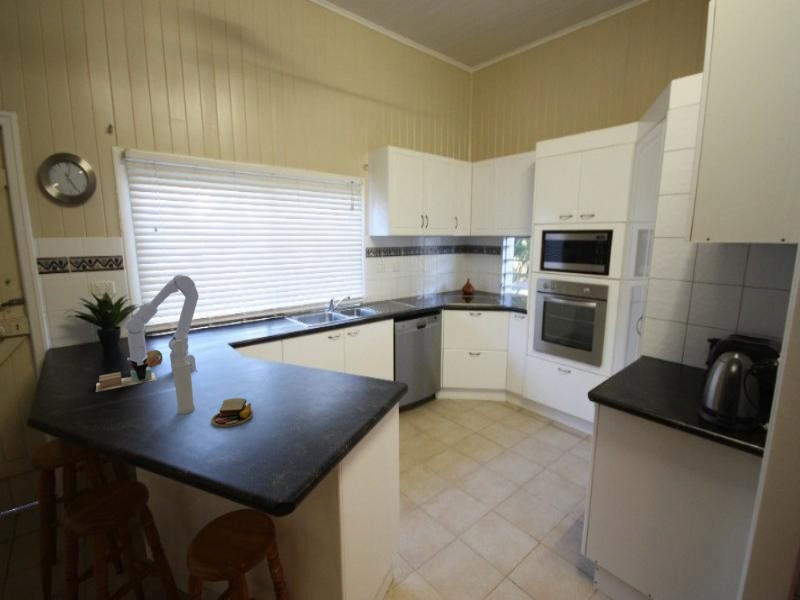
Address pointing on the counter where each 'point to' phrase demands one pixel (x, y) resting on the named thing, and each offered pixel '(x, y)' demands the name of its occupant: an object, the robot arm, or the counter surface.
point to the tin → (153, 358)
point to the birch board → (125, 383)
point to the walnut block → (110, 380)
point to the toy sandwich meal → (232, 413)
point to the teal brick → (135, 378)
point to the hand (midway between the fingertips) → (141, 377)
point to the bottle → (183, 381)
